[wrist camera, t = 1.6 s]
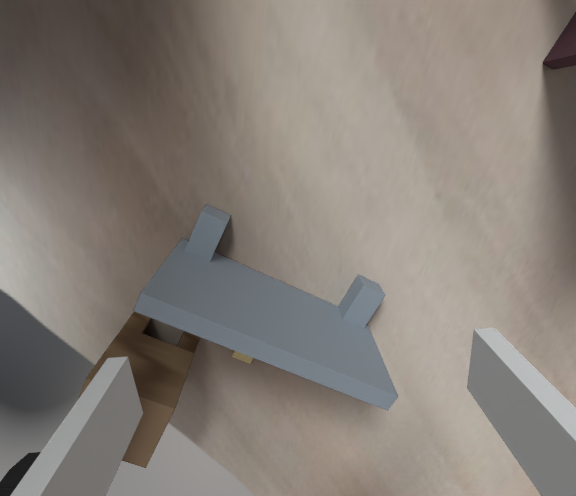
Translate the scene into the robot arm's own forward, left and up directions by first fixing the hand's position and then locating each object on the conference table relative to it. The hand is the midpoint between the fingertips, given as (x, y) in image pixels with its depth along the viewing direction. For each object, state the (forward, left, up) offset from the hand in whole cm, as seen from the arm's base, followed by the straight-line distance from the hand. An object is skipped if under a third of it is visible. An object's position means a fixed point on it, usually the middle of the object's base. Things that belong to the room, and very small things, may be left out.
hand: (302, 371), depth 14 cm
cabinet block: (-6, -19, -21) cm, 29 cm away
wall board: (+2, -5, -21) cm, 22 cm away
